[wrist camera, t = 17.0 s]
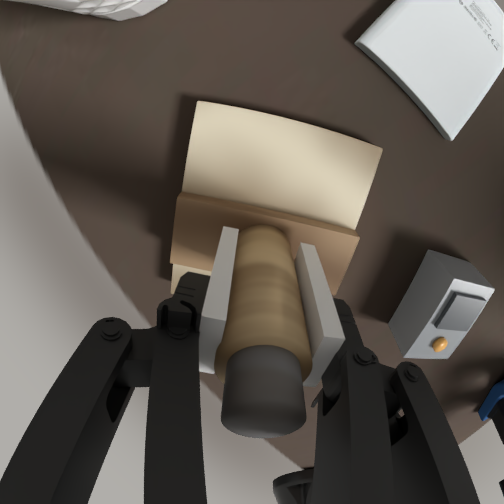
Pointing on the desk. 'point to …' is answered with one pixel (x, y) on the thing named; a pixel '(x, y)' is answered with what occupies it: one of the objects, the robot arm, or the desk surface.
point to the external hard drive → (440, 54)
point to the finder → (439, 307)
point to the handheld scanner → (495, 412)
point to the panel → (270, 187)
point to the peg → (263, 339)
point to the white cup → (102, 7)
